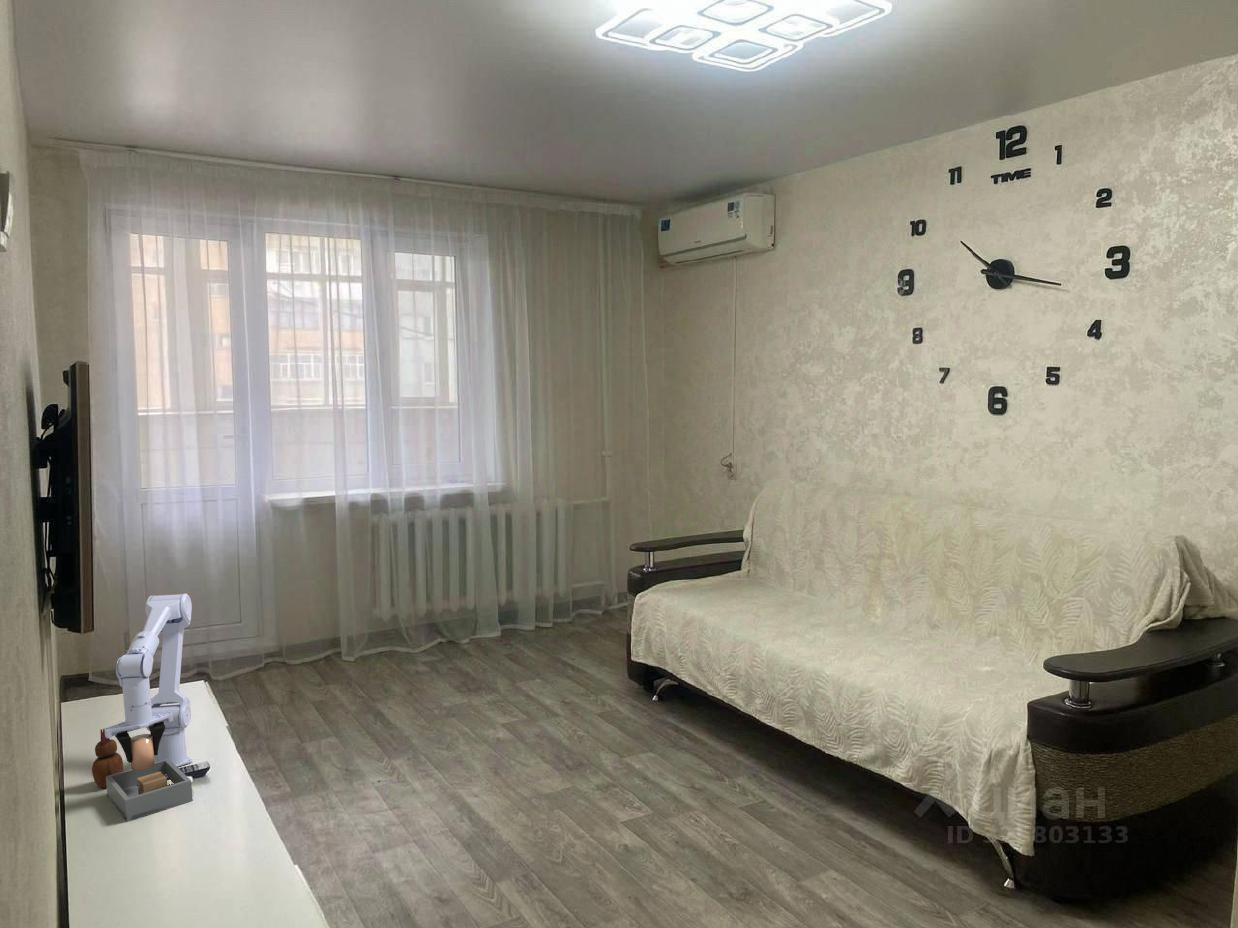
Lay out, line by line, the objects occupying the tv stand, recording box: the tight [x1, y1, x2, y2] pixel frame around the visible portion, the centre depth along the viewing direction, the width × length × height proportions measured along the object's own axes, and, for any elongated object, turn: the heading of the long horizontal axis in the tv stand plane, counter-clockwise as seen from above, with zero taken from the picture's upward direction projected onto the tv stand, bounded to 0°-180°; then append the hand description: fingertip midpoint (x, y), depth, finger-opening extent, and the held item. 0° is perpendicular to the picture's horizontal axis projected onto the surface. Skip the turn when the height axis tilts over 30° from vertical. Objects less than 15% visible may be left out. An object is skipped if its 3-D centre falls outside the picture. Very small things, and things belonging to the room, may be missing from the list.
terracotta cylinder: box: [130, 733, 155, 770], centre depth 215 cm, size 5×5×7 cm
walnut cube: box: [137, 772, 167, 795], centre depth 211 cm, size 5×5×5 cm
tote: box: [106, 759, 194, 823], centre depth 213 cm, size 18×14×5 cm
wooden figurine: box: [91, 728, 124, 789], centre depth 221 cm, size 7×6×15 cm
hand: (142, 757), depth 215 cm, fingers closed on terracotta cylinder, 5 cm apart
